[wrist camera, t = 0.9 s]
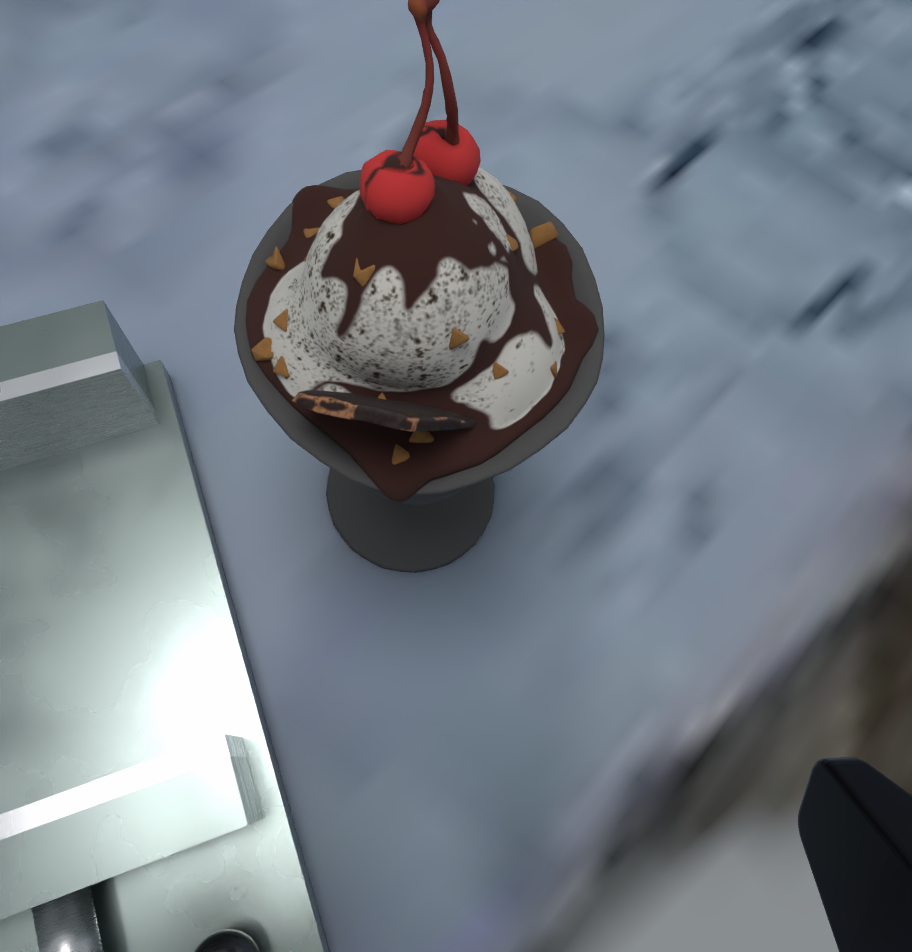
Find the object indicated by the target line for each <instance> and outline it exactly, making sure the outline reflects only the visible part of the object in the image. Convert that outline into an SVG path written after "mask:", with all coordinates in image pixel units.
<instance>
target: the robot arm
mask: <svg viewBox="0 0 912 952" xmlns="http://www.w3.org/2000/svg"><path fill="white" fill-rule="evenodd" d="M798 827H799V833H800V837H801V840H802V843H803V846H804V849H805V852H806V855H807V858H808V861H809V864H810V867H811V870H812V873H813V876H814V879H815V882H816V884H817V887H818V890H819V893H820V896H821V899H822V902H823V905H824V908H825V911H826V914H827V917H828V920H829V923H830V926H831V929H832V931H833V934H834V938H835V940H836V943H837V946H838V949H839V952H912V796H911V795H910V794H909V793H907V792H906V791H905V790H903V789H902V788H901V787H899V786H898V785H896V784H895V783H894V782H892V781H891V780H890V779H888V778H887V777H885V776H884V775H883V774H881V773H880V772H879V771H877V770H876V769H875V768H873V767H872V766H870V765H869V764H868V763H866V762H865V761H863V760H861V759H858V758H854V757H841V758H823V759H820V760H819V761H818V762H816V763H815V764H814V766H813V769H812V772H811V775H810V778H809V781H808V784H807V787H806V791H805V794H804V797H803V800H802V803H801V806H800V809H799V814H798Z"/></svg>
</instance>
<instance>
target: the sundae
mask: <svg viewBox="0 0 912 952" xmlns="http://www.w3.org/2000/svg"><path fill="white" fill-rule="evenodd" d="M439 1H440V0H408V9H409V11H410V12H411V13H412V15H413V16H414V19H415V22H416V25H417V28H418V31H419V34H420V37H421V41H422V47H423V52H424V57H425V62H426V81H425V89H424V91H423V97H422V103H421V106H420V109H419V111H418V114H417V117H416V119H415V122H414V124H413V127H412V129H411V132H410V134H409V137H408V139H407V141H406V143H405V145H404V147H403V149H402V152H399V151H395V150H386V151H383V152H381V153H380V154H378V155H376V156H375V157H373V158H372V159H370V160H369V161H367V162H365V163H364V165H363V167H362V170H358V171H352V172H346V173H344V174H342V175H339V176H337V177H335V178H333V179H330V180H328V181H326V182H324V183H322V184H319V185H313V186H306V187H305V188H303V189H301V190H300V191H299V192H298V193H297V194H296V196H295V197H294V199H293V202H292V203H291V204H289V206H288V207H287V208H286V209H285V210H284V212H283V213H282V214H281V215H280V216H279V218H278V219H277V220H276V221H275V222H274V224H273V225H272V226H271V227H270V228H269V230H268V231H267V233H266V234H265V236H264V237H263V239H262V241H261V242H260V244H259V245H258V247H257V249H256V250H255V252H254V253H253V255H252V258H251V260H250V263H249V265H248V268H247V271H246V273H245V276H244V279H243V281H242V285H241V289H240V293H239V297H238V301H237V305H236V314H235V325H234V332H235V338H236V344H237V350H238V354H239V357H240V360H241V363H242V366H243V369H244V372H245V376H246V379H247V382H248V383H249V385H250V386H251V388H252V389H253V391H254V392H255V394H256V395H257V397H258V398H259V400H260V401H261V403H262V404H263V406H264V407H265V409H266V410H267V412H268V413H269V414H270V415H271V416H272V418H273V419H274V420H275V421H276V422H277V423H278V425H279V426H280V427H281V428H282V429H283V430H284V432H285V433H286V434H287V435H288V436H289V438H290V439H292V440H293V441H294V442H295V443H297V444H298V445H299V446H301V447H302V448H303V449H305V450H306V451H307V452H309V453H310V454H311V455H313V456H314V457H315V458H316V459H318V460H319V461H320V462H322V463H323V464H325V465H327V466H328V467H330V468H331V469H330V473H329V477H328V483H327V492H326V495H327V501H328V507H329V512H330V515H331V518H332V521H333V525H334V526H335V528H336V529H337V531H338V532H339V534H340V535H341V537H342V538H343V539H344V541H345V542H346V543H347V544H348V545H349V546H350V548H351V549H352V550H353V551H354V552H356V553H357V554H359V555H360V556H362V557H363V558H365V559H366V560H368V561H370V562H372V563H374V564H376V565H378V566H380V567H382V568H387V569H392V570H396V571H406V572H420V571H425V570H431V569H435V568H438V567H441V566H444V565H447V564H449V563H451V562H452V561H454V560H455V559H457V558H459V557H460V556H462V555H463V554H464V553H465V552H467V551H468V550H469V549H470V548H471V547H472V546H474V545H475V544H476V542H477V541H478V539H479V538H480V536H481V535H482V533H483V532H484V530H485V528H486V526H487V524H488V522H489V520H490V518H491V514H492V508H493V503H494V482H493V478H492V477H493V476H496V475H498V474H501V473H503V472H506V471H509V470H511V469H512V468H514V467H515V466H517V465H518V464H520V463H521V462H523V461H525V460H526V459H528V458H529V457H531V456H532V455H534V454H535V453H537V452H538V451H540V450H541V449H543V448H544V447H545V446H546V445H547V444H549V443H550V442H551V441H552V440H554V439H555V438H556V437H557V436H559V435H560V434H561V433H562V432H563V431H565V430H566V429H567V428H568V427H569V425H570V424H571V423H572V421H573V420H574V419H575V417H576V416H577V415H578V413H579V412H580V411H581V409H582V408H583V406H584V405H585V404H586V402H587V400H588V398H589V397H590V395H591V393H592V391H593V389H594V387H595V386H596V384H597V381H598V377H599V373H600V369H601V364H602V360H603V349H604V321H603V307H602V303H601V299H600V295H599V292H598V288H597V284H596V281H595V278H594V275H593V273H592V270H591V268H590V266H589V263H588V261H587V258H586V256H585V253H584V251H583V249H582V247H581V246H580V245H579V243H578V242H577V241H576V240H575V238H574V237H573V236H572V234H571V233H570V232H569V231H568V229H567V228H566V227H565V225H564V224H563V223H562V222H561V221H560V220H559V219H558V218H557V217H555V216H554V215H553V214H552V213H551V212H550V211H549V210H548V209H547V208H546V207H544V206H543V205H542V204H541V203H540V202H539V201H537V200H535V199H533V198H531V197H529V196H527V195H525V194H523V193H521V192H519V191H517V190H515V189H513V188H511V187H508V186H505V185H502V184H501V183H500V182H499V181H498V180H497V179H496V178H494V177H493V176H492V175H490V174H489V173H487V172H486V171H484V170H483V169H482V168H480V167H479V165H480V149H479V147H478V146H477V144H476V142H475V140H474V139H473V137H472V136H471V134H470V133H469V132H468V130H466V129H465V128H463V127H462V126H460V125H459V124H458V108H457V101H456V97H455V92H454V87H453V82H452V77H451V73H450V70H449V67H448V63H447V60H446V57H445V54H444V52H443V49H442V47H441V44H440V42H439V39H438V38H437V36H436V34H435V32H434V29H433V27H432V10H433V9H434V8H435V7H436V5H437V4H438V3H439ZM430 44H431V46H432V49H433V51H434V53H435V55H436V57H437V60H438V63H439V68H440V74H441V80H442V87H443V92H444V98H445V109H446V114H447V120H435V121H430V122H426V118H427V115H428V112H429V108H430V105H431V99H432V94H433V85H434V64H433V58H432V51H431V46H430ZM425 122H426V123H425Z"/></svg>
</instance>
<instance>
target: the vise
mask: <svg viewBox="0 0 912 952" xmlns="http://www.w3.org/2000/svg"><path fill="white" fill-rule="evenodd" d="M0 952H329V948H328V945H327V941H326V937H325V934H324V930H323V927H322V923H321V919H320V916H319V912H318V909H317V905H316V901H315V898H314V894H313V891H312V887H311V883H310V880H309V876H308V873H307V869H306V865H305V862H304V858H303V855H302V851H301V847H300V844H299V840H298V837H297V833H296V829H295V826H294V822H293V819H292V815H291V811H290V808H289V804H288V801H287V797H286V793H285V790H284V786H283V783H282V779H281V775H280V772H279V768H278V765H277V761H276V757H275V754H274V750H273V747H272V743H271V739H270V736H269V732H268V729H267V725H266V721H265V718H264V714H263V711H262V707H261V703H260V700H259V696H258V693H257V689H256V685H255V682H254V678H253V675H252V671H251V667H250V664H249V660H248V657H247V653H246V649H245V646H244V642H243V639H242V635H241V631H240V628H239V624H238V621H237V617H236V613H235V610H234V606H233V603H232V599H231V595H230V592H229V588H228V585H227V581H226V577H225V574H224V570H223V567H222V563H221V559H220V556H219V552H218V549H217V545H216V541H215V538H214V534H213V531H212V527H211V523H210V520H209V516H208V513H207V509H206V505H205V502H204V498H203V495H202V491H201V487H200V484H199V480H198V477H197V473H196V469H195V466H194V462H193V459H192V455H191V451H190V448H189V444H188V441H187V437H186V433H185V430H184V426H183V423H182V419H181V415H180V412H179V408H178V405H177V401H176V397H175V394H174V390H173V387H172V383H171V379H170V376H169V374H168V372H167V370H166V369H165V367H164V365H163V363H162V362H161V360H159V361H155V362H152V363H148V364H144V365H143V363H142V362H141V360H140V359H139V357H138V355H137V354H136V352H135V351H134V349H133V347H132V346H131V344H130V342H129V341H128V339H127V338H126V336H125V334H124V333H123V331H122V330H121V328H120V326H119V325H118V323H117V322H116V320H115V318H114V317H113V315H112V314H111V312H110V310H109V309H108V307H107V306H106V304H105V302H104V301H99V302H95V303H91V304H87V305H83V306H79V307H75V308H72V309H68V310H64V311H60V312H56V313H52V314H48V315H44V316H40V317H36V318H33V319H29V320H25V321H21V322H17V323H13V324H9V325H5V326H1V327H0Z"/></svg>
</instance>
